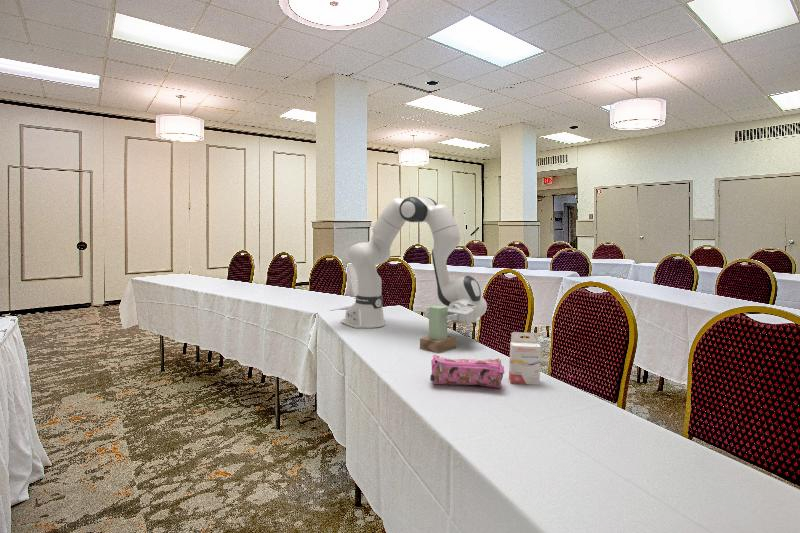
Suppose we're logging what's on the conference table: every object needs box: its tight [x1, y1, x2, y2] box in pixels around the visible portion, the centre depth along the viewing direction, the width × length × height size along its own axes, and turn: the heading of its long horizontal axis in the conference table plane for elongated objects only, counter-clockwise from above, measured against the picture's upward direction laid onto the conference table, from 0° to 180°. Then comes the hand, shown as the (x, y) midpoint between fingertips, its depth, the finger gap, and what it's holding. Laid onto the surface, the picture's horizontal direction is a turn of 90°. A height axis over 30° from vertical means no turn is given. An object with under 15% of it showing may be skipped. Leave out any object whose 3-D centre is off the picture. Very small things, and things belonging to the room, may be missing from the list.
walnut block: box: [419, 335, 457, 354], centre depth 181 cm, size 9×11×4 cm
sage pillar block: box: [428, 305, 449, 340], centre depth 181 cm, size 5×5×12 cm
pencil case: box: [429, 354, 505, 389], centre depth 140 cm, size 21×9×9 cm, turn 78°
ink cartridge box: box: [508, 331, 542, 385], centre depth 143 cm, size 9×5×15 cm, turn 84°
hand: (437, 316), depth 180 cm, fingers open, 8 cm apart
